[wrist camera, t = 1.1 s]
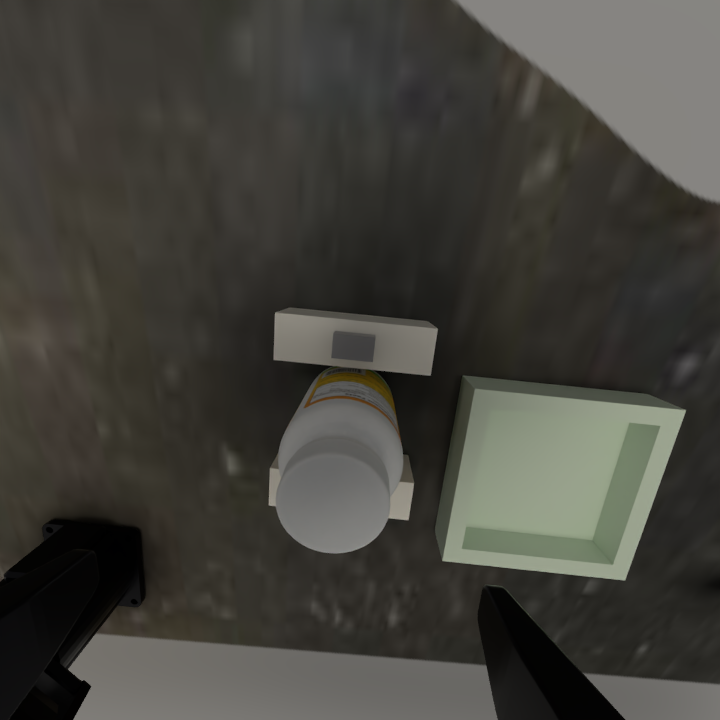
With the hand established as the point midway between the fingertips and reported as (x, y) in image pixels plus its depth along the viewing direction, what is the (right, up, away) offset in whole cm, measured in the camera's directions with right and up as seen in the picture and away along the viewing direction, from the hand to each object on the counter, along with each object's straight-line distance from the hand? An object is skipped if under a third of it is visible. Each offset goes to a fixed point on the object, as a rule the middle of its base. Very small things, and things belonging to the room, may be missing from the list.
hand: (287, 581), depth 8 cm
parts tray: (+13, -2, +13) cm, 19 cm away
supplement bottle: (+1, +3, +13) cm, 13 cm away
